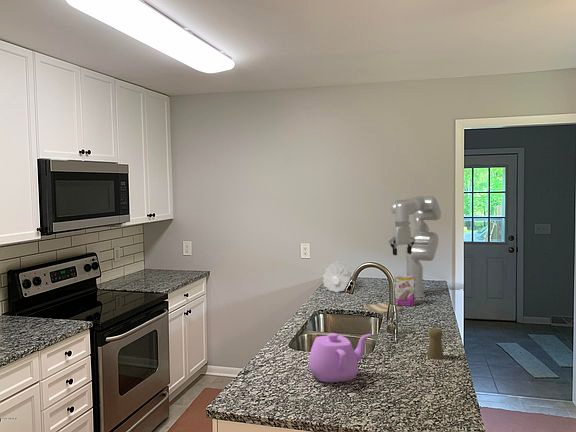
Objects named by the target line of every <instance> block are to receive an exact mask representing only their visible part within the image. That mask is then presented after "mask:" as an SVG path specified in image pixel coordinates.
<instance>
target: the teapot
mask: <svg viewBox="0 0 576 432" xmlns="http://www.w3.org/2000/svg"><path fill="white" fill-rule="evenodd" d="M371 335H372V333H366V334H363V335H362V336H361V337H360V338H359V340H358V343H357V346H356V348H355V349H354V348H353V347H354V346H353V345H352V342H351V341H350V339H348V338H347V337H345V336H343V335H340V334H338V333H335V332H330V333H328V334H327V335H321V336H320V335H319V336H316V337H315V339H314V340H313V341H314V342H313V343H312V346H311V349H310V353H309V359H308V367H309V371H310V372H311V373H312V375H313V376H314V377H315V379H317V380H319V381H320V382H324V383H339V382H347V381H351V380H355V378H356V377H357V374H358V371H359V368H358V367H359V364H358V363H360V362H361V360H362V358H363V356H364V350H365V344H366V341H367V339H368V338H369V337H370V336H371Z"/></svg>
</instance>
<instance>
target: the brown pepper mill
mask: <svg viewBox="0 0 576 432" xmlns="http://www.w3.org/2000/svg"><path fill="white" fill-rule="evenodd" d="M443 335H444V334H443V331H442V329H439V328H430V329H429V330H428V336H429V343H428V350H427V358H428V359H431V360H443V359H444V351H443V343H442V342H443V341H442V338H443Z"/></svg>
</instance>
